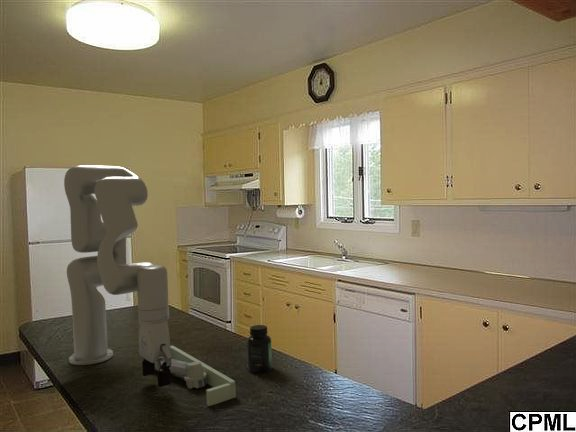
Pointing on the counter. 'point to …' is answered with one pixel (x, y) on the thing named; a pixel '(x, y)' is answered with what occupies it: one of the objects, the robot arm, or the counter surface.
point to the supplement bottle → (259, 350)
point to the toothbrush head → (188, 372)
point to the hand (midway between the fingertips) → (156, 379)
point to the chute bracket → (210, 379)
